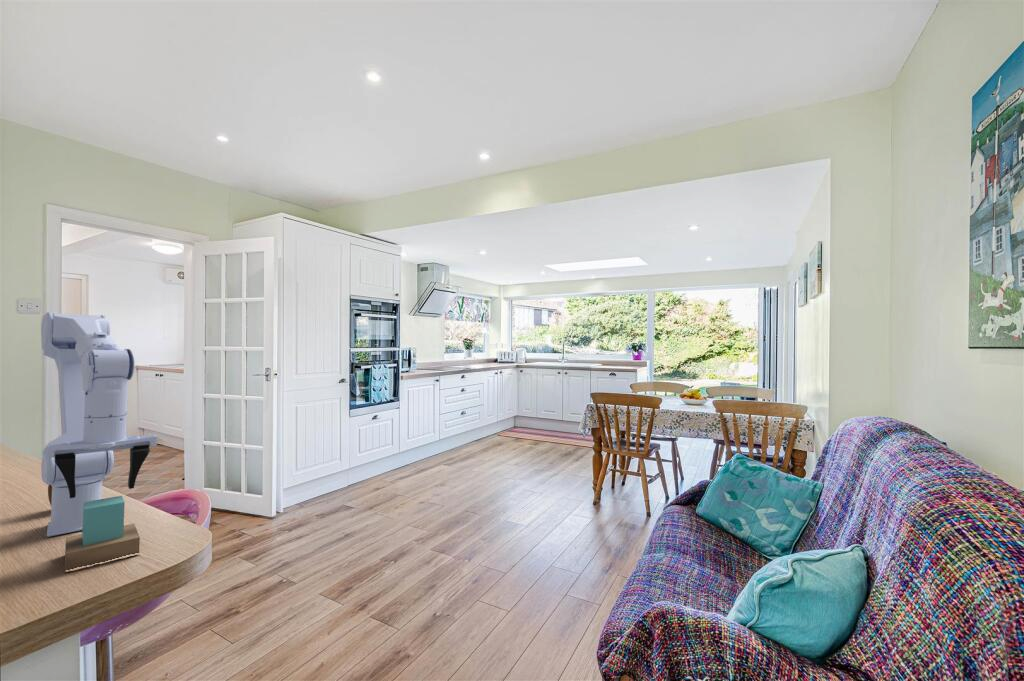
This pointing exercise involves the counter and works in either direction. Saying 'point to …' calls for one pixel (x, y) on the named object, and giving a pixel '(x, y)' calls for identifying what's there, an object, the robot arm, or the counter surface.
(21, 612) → the counter surface
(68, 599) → the counter surface
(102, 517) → the teal block
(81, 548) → the walnut plinth
